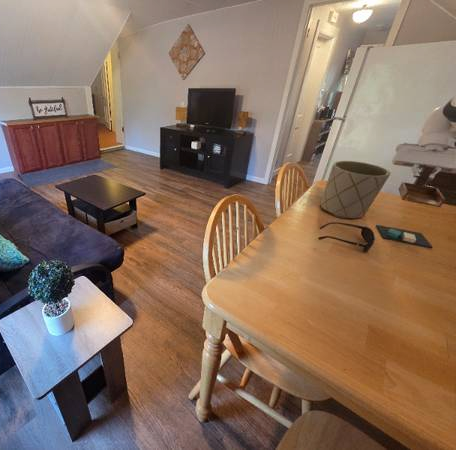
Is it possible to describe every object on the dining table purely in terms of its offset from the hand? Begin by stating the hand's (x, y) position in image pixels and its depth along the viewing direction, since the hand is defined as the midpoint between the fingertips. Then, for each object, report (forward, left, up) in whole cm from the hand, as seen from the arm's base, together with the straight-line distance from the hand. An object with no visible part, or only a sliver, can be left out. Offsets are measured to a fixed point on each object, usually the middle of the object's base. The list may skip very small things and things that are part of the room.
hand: (423, 178), depth 92 cm
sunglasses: (+23, +26, -20) cm, 39 cm away
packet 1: (+5, +14, -17) cm, 23 cm away
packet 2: (+1, +15, -17) cm, 23 cm away
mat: (+2, +13, -19) cm, 23 cm away
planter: (+20, -1, -20) cm, 28 cm away
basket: (+1, +5, -6) cm, 8 cm away
